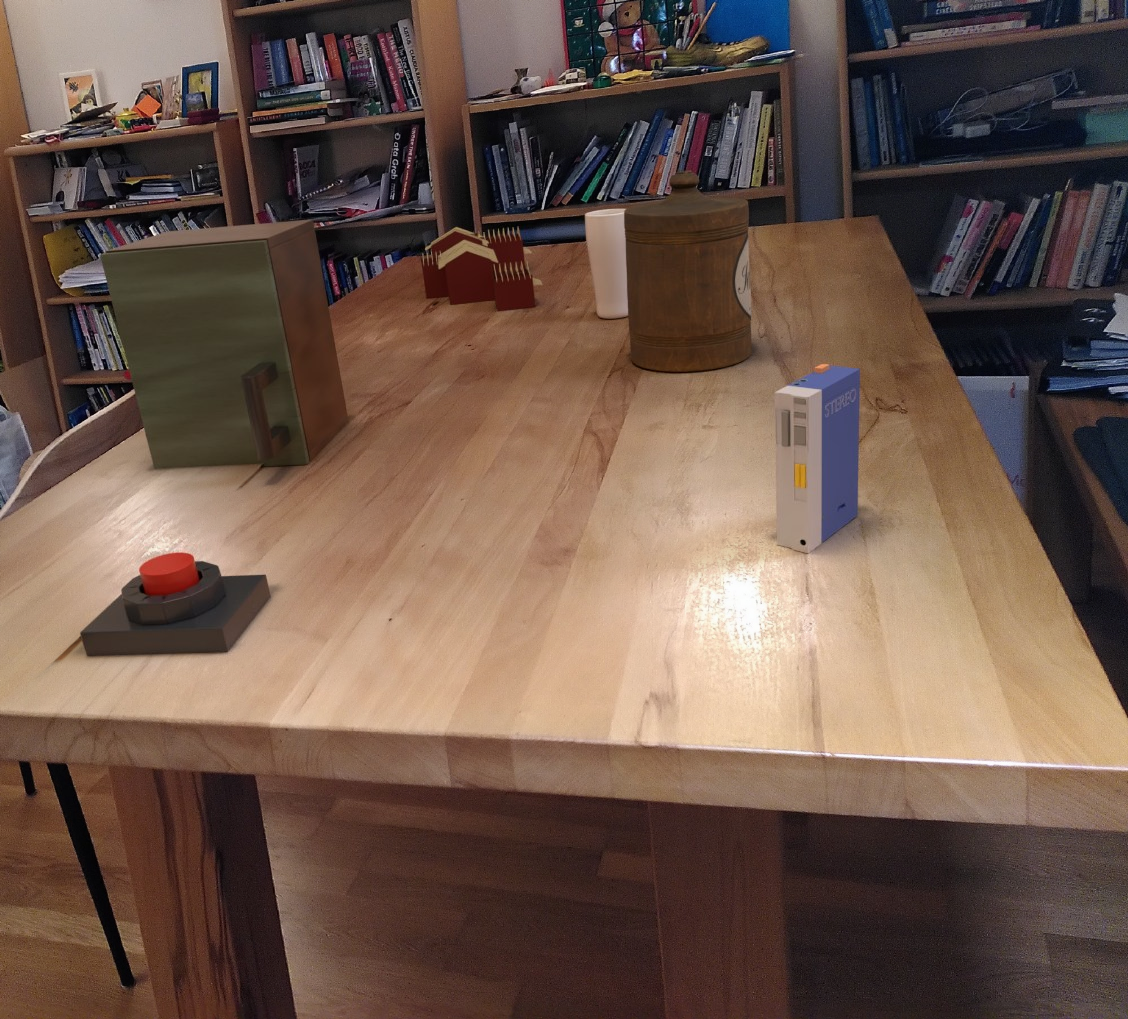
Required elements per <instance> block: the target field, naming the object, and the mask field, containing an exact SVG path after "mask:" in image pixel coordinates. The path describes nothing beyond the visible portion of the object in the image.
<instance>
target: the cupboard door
mask: <svg viewBox="0 0 1128 1019" xmlns="http://www.w3.org/2000/svg"><path fill="white" fill-rule="evenodd" d="M99 256H100V261H101V264H102V269H103V272H104V277H105V281H106V285H107V288H108V289H107V290H108V292H109V296H110V300H111V304H112V309H113V312H114V315H115V319H116V324H117V327H118V332H119V335H120V340H121V343H122V347H123V351H124V355H125V359H126V363H127V368H128V371H129V375H130V379H131V383H132V387H133V391H134V394H135V398H136V403H137V406H138V410H139V413H140V417H141V421H142V426H143V430H144V433H145V438H146V441H147V445H148V449H149V455H150V458H151V461H152V465H153V469H154V470H162V469H165V470H166V469H183V468H200V467H201V468H203V467H220V466H223V467H224V466H238V465H239V466H241V465H258V464H261V465H260V466H259V468H266V467H268V468H269V467H285V466H286V467H287V466H304V465H309V463H311V462H310V461H309V456H308V450H307V445H306V440H305V435H304V430H303V425H302V419H301V414H300V409H299V404H298V399H297V394H296V389H295V383H294V378H293V373H292V368H291V363H290V358H289V352H288V347H287V342H286V337H285V332H284V327H283V322H282V316H281V311H280V306H279V301H278V296H277V291H276V285H275V280H274V275H273V270H272V265H271V260H270V255H269V249H268V244H267V240H261V241H248V242H236V243H224V244H211V245H199V246H187V247H175V248H162V249H150V250H138V251H125V252H113V253H105V252H104V253H101V254H99Z"/></svg>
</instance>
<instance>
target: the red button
mask: <svg viewBox="0 0 1128 1019" xmlns="http://www.w3.org/2000/svg"><path fill="white" fill-rule="evenodd" d="M195 561H196V560H195V557H194V555H193V554H191V553H189V552H182V551H181V552H170V553H165V554H161V555H158V556H155V557H153V558H150V559H148V560H147V561H144V562H143V563H142V564H141V565H140V566H139V568H138V572H139V575H140V576H141V579H142V583H143V587H144V591H145V594H146V595H149V596H160V595H169V594H173V593H177V592H181V591H184V590H186V589H188V588H190V587H192V586H194V585H196V584H197V583H198V582H199V576H198V572H197V568H196V564H195Z"/></svg>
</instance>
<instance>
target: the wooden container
mask: <svg viewBox="0 0 1128 1019" xmlns="http://www.w3.org/2000/svg"><path fill="white" fill-rule="evenodd" d="M668 182H669V187H671V188H672V190H671V192H670V193H669V195H668V196H667V197H666V198H665V199H664V200H662V201H654V202H647V203H642V204H638V205H634V206H630V207H628V208H625V209H626V210H625V211H624V228H625V238H626V240H625V241H626V271H627V300H628V316H627V317H628V318H627V320H628V332H629V346H630V359H631V362H632V363H633V364H634V365H635V366H637V367H640V368H643V369H645V370H650V371H657V372H666V373H688V372H689V373H690V372H692V373H693V372H702V371H703V372H704V371H712V370H717V369H723V368H726V367H731V366H733V365H736V364H739V363H741V362H743V361H745V360H747V359H748V358H749V357H750V356H751V355H752V296H751V295H752V294H751V293H752V292H751V273H750V272H751V271H750V249H749V247H750V246H749V225H750V224H749V223H750V221H749V220H750V210H749V209H750V208H749V201H748V200H747V199H745V198H739V197H724V196H721V197H720V196H716V197H715V196H714V197H713V196H710V197H709V196H707V197H706V196H705V195H704V194H703V193H702V192H701V191H700V190H699V189H698V188H697V187H698V185H699V183H700V179H699V176H698V174H696V173H694V172H693V171H692V170H682V171H676V172H675V174H673V175H671V177H670V178H669V181H668Z"/></svg>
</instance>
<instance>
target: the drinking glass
mask: <svg viewBox="0 0 1128 1019" xmlns="http://www.w3.org/2000/svg"><path fill="white" fill-rule="evenodd" d="M626 209H627V208H607V209H599V210H598V209H597V210H593V211H589V212H586V213H584V230H585V241H586V242H585V243H586V249H587V256H588V261H589V267H590V274H591V280H592V287H593V294H594V298H595V308H596V316H598V317H599V318H601V319H605V320H616V319H622V318H626V317H628V300H627V271H626V241H625V240H626V238H625V228H624V211H625V210H626Z"/></svg>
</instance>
